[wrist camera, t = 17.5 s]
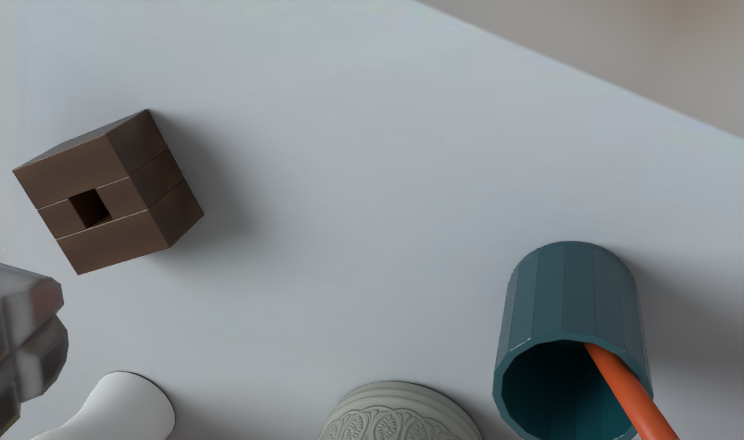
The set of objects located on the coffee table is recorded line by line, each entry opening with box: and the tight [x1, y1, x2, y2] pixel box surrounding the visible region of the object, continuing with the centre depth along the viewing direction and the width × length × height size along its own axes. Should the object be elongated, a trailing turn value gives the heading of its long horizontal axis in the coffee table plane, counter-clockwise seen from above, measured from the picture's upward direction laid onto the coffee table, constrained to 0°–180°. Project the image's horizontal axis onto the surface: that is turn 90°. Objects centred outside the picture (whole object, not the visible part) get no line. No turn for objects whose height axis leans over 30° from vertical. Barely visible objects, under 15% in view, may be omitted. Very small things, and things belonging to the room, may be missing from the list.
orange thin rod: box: [582, 342, 680, 440], centre depth 37 cm, size 1×1×18 cm
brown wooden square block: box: [13, 109, 204, 275], centre depth 49 cm, size 8×8×5 cm
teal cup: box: [492, 241, 654, 440], centre depth 42 cm, size 8×8×10 cm
